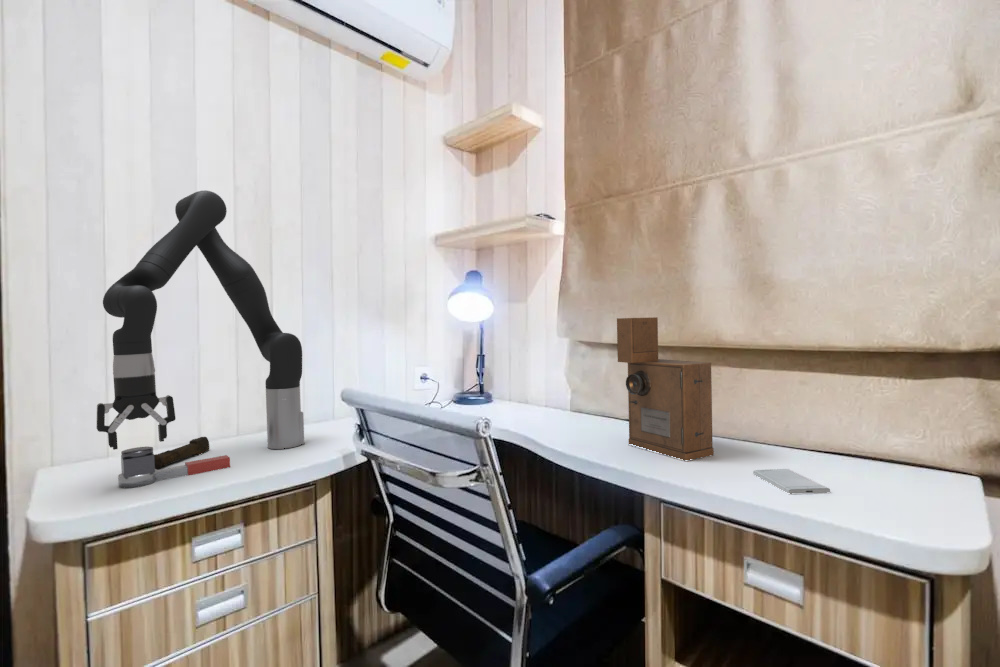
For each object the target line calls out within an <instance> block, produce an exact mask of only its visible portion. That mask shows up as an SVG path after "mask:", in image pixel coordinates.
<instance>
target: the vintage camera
mask: <svg viewBox="0 0 1000 667" xmlns="http://www.w3.org/2000/svg"><path fill="white" fill-rule="evenodd" d="M658 320H659V318H658V317H621V318H616V336H617V337H616V338H617V339H616V340H617V341H616V342H617V343H616V344H617V346H616V347H617V350H616V351H617V363H625V364H627V376H626V379H625V386H626V390H627V393H628V395H627V396H628V399H627V401H628V402H627V403H628V436H629V437H628V445H629V444H633V445H636V446H639V447H643V448H646V449H649V450H652V451H656V452H659V453H662V454H666V455H669V456H673V457H676V458H680V459H683V460H690V459H695V460H697V459H696V458H699V459H702V458H701V457H703V458H707V457H711V456H710V455H712V456H714V454H715V453H714V452H715V451H714V446H713V398H712V397H713V394H712V362H710V361H709V362H706V361H695V360H694V361H691V360H690V361H689V360H680V359H679V360H678V359H677V360H676V359H662V358H659V335H658V334H659V328H658V327H659V326H658ZM706 456H707V457H706ZM690 461H691V460H690Z"/></svg>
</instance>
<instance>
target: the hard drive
mask: <svg viewBox="0 0 1000 667" xmlns="http://www.w3.org/2000/svg"><path fill="white" fill-rule="evenodd" d="M753 474H754V475H753ZM753 474H752V475H753V476H755V475H756V476H755V477H757V476H758V477H760V478H761V479H760V478H759V479H760V480H762V479H763V480H762V481H764V480H765V481H764V482H766V481H767V482H768V483H767V482H766V483H767V484H769V483H771V484H772V485H771V484H770V485H771V486H773V485H774V486H773V487H775V486H776V487H777V489H778V488H779V490H780V489H781V490H780V491H782V490H783V491H782V492H784V491H785V492H787V493H790V494H789V495H793V494H792V493H814V494H828V493H827V492H830V493H831V489H830V488H829V487H827V486H825V485H823V484H821V483H819V482H817V481H815V480H813V479H810V478H808V477H806V476H804V475H802V474H800V473H798V472H796V471H794V470H791V469H790V468H777V469H776V468H775V469H774V468H773V469H755V470H753ZM758 477H757V478H758ZM776 487H775V488H776ZM785 492H784V493H785ZM787 493H786V494H787Z"/></svg>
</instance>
